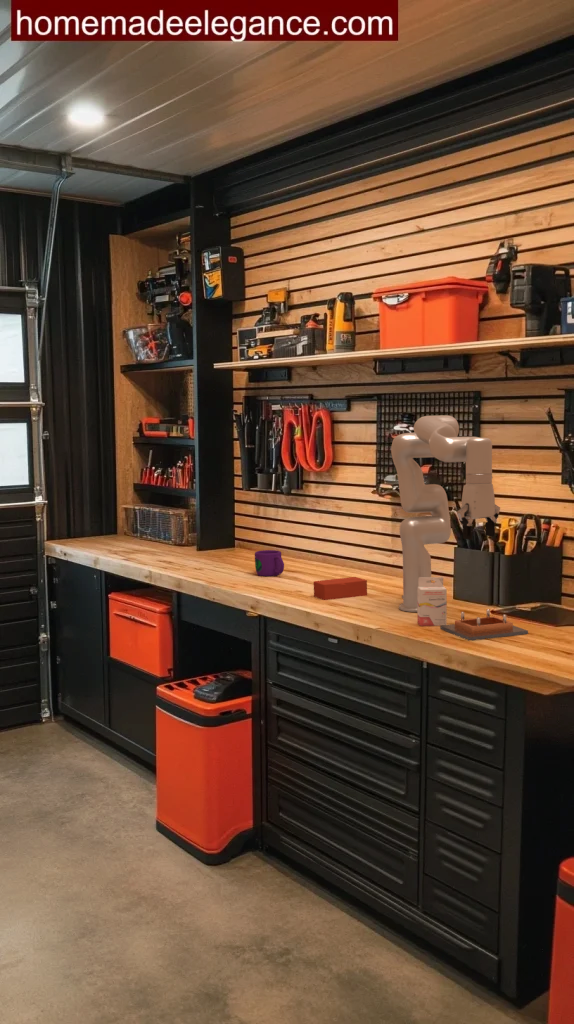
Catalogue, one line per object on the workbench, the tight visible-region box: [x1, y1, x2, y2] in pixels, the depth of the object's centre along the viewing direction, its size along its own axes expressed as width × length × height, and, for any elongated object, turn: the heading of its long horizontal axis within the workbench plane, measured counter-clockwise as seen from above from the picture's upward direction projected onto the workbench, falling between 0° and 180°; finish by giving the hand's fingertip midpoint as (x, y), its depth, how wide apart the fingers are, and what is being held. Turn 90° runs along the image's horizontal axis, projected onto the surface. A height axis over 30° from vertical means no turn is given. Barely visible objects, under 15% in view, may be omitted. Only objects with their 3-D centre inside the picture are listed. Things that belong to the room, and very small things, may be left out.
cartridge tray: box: [439, 608, 529, 641], centre depth 274 cm, size 17×20×6 cm
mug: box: [254, 549, 285, 577], centre depth 385 cm, size 17×11×10 cm, turn 34°
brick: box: [313, 576, 368, 601], centre depth 337 cm, size 18×9×6 cm, turn 115°
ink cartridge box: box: [416, 576, 448, 627], centre depth 285 cm, size 9×5×15 cm, turn 92°
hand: (479, 537), depth 268 cm, fingers open, 9 cm apart
